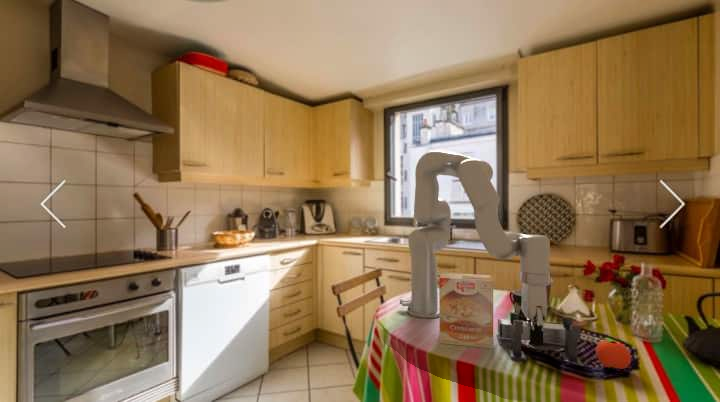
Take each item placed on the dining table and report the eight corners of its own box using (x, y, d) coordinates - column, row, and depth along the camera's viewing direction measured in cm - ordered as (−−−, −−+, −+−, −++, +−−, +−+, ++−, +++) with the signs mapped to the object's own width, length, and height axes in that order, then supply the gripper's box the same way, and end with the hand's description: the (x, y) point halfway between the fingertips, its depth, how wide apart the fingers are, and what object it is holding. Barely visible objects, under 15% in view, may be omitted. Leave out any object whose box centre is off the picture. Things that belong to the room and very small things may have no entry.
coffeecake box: (439, 343, 96) (438, 277, 95) (439, 333, 103) (439, 271, 102) (494, 349, 92) (493, 280, 92) (491, 338, 99) (490, 274, 98)
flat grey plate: (499, 345, 94) (499, 344, 94) (496, 335, 101) (496, 334, 101) (579, 353, 89) (579, 352, 89) (570, 342, 95) (570, 341, 95)
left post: (511, 360, 86) (511, 320, 85) (507, 348, 92) (507, 312, 92) (526, 361, 85) (526, 321, 85) (521, 350, 91) (521, 313, 91)
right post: (567, 366, 82) (567, 325, 82) (559, 354, 88) (559, 316, 88) (584, 368, 81) (584, 326, 81) (574, 355, 88) (574, 317, 87)
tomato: (585, 360, 85) (585, 333, 85) (610, 358, 86) (610, 332, 86) (611, 376, 77) (611, 347, 77) (638, 375, 78) (638, 345, 78)
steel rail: (499, 337, 96) (499, 323, 95) (497, 331, 99) (497, 318, 99) (575, 345, 90) (575, 330, 90) (570, 339, 94) (570, 325, 94)
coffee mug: (544, 328, 106) (544, 297, 106) (516, 326, 107) (515, 296, 107) (533, 315, 117) (533, 287, 117) (507, 314, 119) (507, 286, 119)
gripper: (515, 270, 104) (515, 328, 104) (526, 284, 88) (526, 352, 88) (541, 271, 102) (541, 330, 102) (558, 286, 86) (558, 355, 86)
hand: (534, 339), depth 95 cm, fingers closed on steel rail, 4 cm apart
